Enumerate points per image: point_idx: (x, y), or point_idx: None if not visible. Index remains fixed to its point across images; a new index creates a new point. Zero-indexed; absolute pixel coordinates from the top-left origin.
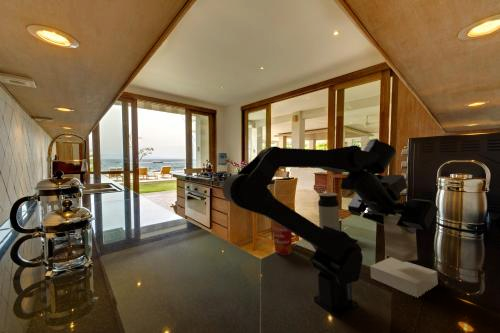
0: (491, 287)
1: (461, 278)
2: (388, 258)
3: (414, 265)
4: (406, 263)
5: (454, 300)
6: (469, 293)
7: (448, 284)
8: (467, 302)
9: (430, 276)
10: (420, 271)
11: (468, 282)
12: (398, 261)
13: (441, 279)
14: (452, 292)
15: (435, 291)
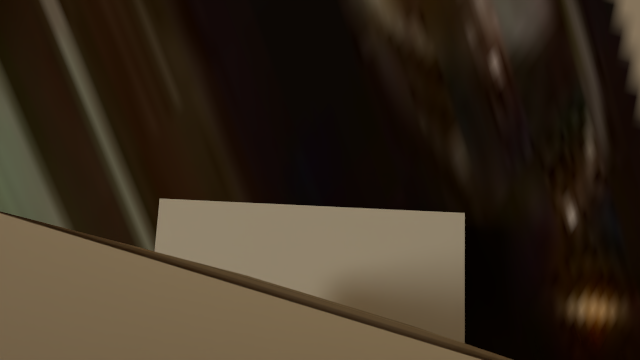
0: (611, 31)
1: (492, 32)
2: (158, 251)
3: (335, 229)
4: (286, 239)
5: (559, 354)
6: (574, 200)
7: (478, 174)
8: (601, 320)
9: (462, 320)
10: (402, 308)
11: (529, 58)
12: (233, 248)
13: (433, 136)
14: (523, 263)
15: (468, 330)
